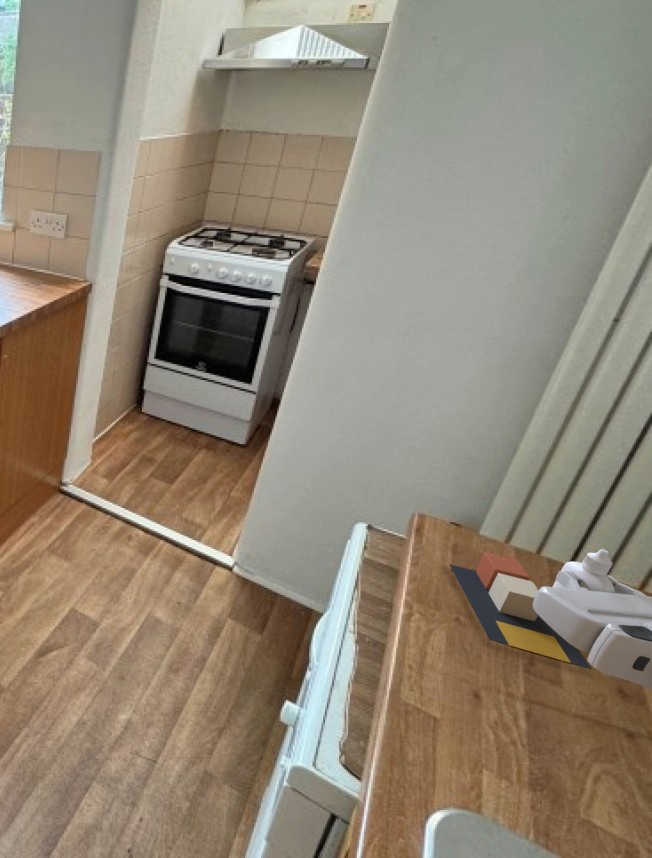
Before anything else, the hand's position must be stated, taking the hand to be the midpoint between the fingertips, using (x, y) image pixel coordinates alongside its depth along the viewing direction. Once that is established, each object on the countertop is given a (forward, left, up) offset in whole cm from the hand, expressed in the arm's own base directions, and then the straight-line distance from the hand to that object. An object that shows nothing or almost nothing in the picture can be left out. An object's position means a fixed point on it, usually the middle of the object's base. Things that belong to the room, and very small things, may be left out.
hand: (581, 576), depth 86 cm
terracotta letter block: (-1, -17, -16) cm, 23 cm away
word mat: (-1, -10, -17) cm, 20 cm away
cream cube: (-1, -11, -16) cm, 20 cm away
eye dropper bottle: (0, +1, -7) cm, 7 cm away
